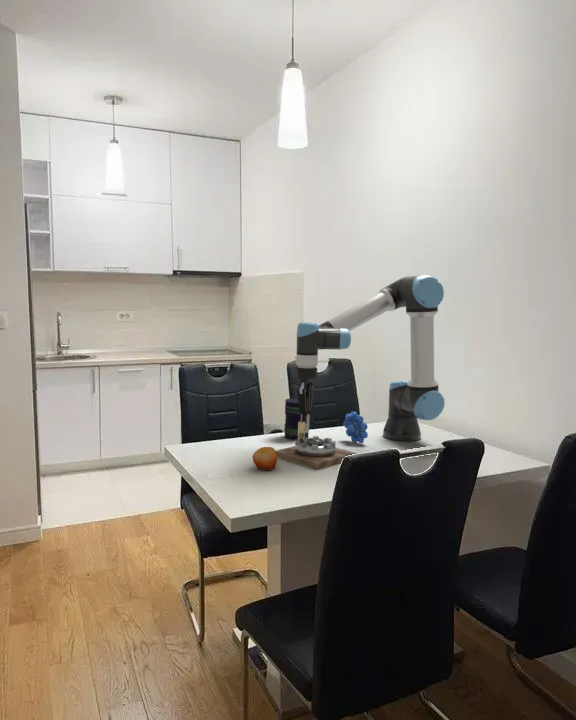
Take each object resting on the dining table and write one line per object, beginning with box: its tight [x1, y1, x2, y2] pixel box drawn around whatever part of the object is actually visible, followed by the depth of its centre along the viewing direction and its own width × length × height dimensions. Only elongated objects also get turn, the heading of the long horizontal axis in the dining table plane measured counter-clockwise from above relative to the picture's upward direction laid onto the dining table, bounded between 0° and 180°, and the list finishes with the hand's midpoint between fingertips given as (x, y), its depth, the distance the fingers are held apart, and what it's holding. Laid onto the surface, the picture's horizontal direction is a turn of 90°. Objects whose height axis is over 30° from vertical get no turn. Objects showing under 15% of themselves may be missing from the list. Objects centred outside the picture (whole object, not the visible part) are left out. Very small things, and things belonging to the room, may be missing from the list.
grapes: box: [343, 410, 369, 444], centre depth 219 cm, size 12×7×12 cm, turn 44°
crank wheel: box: [294, 421, 337, 457], centre depth 196 cm, size 14×14×10 cm
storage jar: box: [283, 397, 310, 441], centre depth 224 cm, size 10×10×15 cm
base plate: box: [275, 445, 356, 471], centre depth 197 cm, size 20×20×2 cm
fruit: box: [251, 446, 278, 471], centre depth 183 cm, size 8×8×8 cm
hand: (304, 431), depth 202 cm, fingers closed
